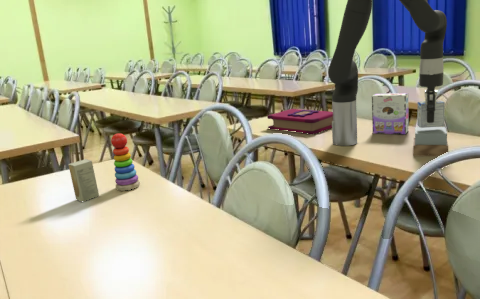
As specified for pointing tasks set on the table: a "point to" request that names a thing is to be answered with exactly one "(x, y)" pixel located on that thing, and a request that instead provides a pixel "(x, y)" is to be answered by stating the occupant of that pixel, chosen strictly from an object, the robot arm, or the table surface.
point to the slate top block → (430, 136)
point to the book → (302, 120)
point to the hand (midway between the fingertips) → (430, 120)
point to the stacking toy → (123, 164)
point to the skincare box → (83, 180)
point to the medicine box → (437, 114)
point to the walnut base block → (429, 149)
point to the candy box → (390, 113)
